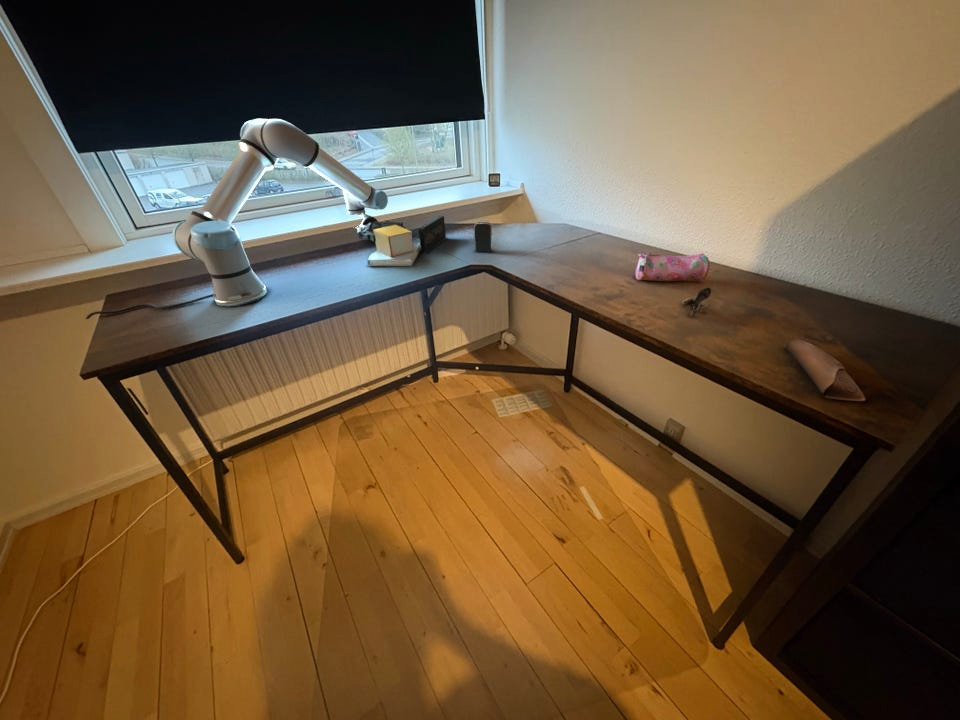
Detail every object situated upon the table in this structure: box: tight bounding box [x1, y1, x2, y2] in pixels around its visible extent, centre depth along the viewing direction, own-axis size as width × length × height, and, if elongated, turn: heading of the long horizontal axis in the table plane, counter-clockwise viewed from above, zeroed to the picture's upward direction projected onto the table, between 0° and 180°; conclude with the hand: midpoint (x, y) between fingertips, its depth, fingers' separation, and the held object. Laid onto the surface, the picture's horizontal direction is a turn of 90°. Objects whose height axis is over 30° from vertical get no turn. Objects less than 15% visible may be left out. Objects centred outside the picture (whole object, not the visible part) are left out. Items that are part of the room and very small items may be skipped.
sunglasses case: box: [785, 338, 867, 402], centre depth 82 cm, size 18×7×7 cm, turn 167°
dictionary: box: [373, 225, 414, 258], centre depth 150 cm, size 13×10×8 cm
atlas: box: [366, 241, 421, 267], centre depth 153 cm, size 17×20×3 cm
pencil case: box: [635, 252, 710, 283], centre depth 123 cm, size 21×9×9 cm, turn 81°
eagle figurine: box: [682, 287, 712, 317], centre depth 106 cm, size 8×7×9 cm
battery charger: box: [473, 221, 493, 253], centre depth 153 cm, size 7×4×11 cm, turn 82°
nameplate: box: [418, 215, 447, 254], centre depth 161 cm, size 21×2×10 cm, turn 161°
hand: (390, 234), depth 150 cm, fingers open, 13 cm apart
